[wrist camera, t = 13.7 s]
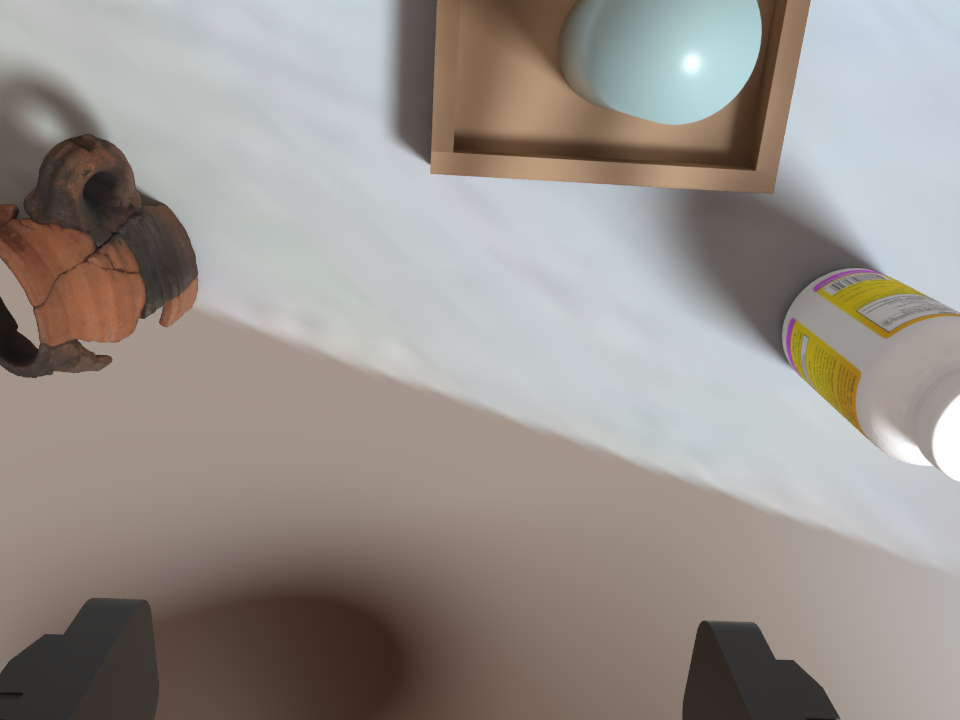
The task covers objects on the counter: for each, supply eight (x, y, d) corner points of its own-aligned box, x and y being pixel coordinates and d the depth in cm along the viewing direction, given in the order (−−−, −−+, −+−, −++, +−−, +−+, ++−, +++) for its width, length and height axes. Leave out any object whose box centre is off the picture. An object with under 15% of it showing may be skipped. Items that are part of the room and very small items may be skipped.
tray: (432, 166, 38) (430, 173, 36) (443, -117, 34) (441, -129, 32) (754, 185, 39) (772, 193, 37) (805, -90, 35) (830, -100, 33)
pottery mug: (203, 360, 43) (67, 432, 36) (81, 278, 45) (-67, 331, 39) (226, 155, 36) (63, 199, 29) (80, 71, 38) (-100, 94, 32)
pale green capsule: (553, 105, 37) (593, 121, 26) (562, -19, 35) (609, -54, 24) (664, 110, 37) (747, 128, 26) (679, -13, 35) (775, -45, 25)
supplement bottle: (842, 403, 44) (986, 536, 32) (751, 341, 42) (867, 456, 30) (929, 307, 42) (1117, 410, 30) (838, 239, 40) (997, 318, 28)
